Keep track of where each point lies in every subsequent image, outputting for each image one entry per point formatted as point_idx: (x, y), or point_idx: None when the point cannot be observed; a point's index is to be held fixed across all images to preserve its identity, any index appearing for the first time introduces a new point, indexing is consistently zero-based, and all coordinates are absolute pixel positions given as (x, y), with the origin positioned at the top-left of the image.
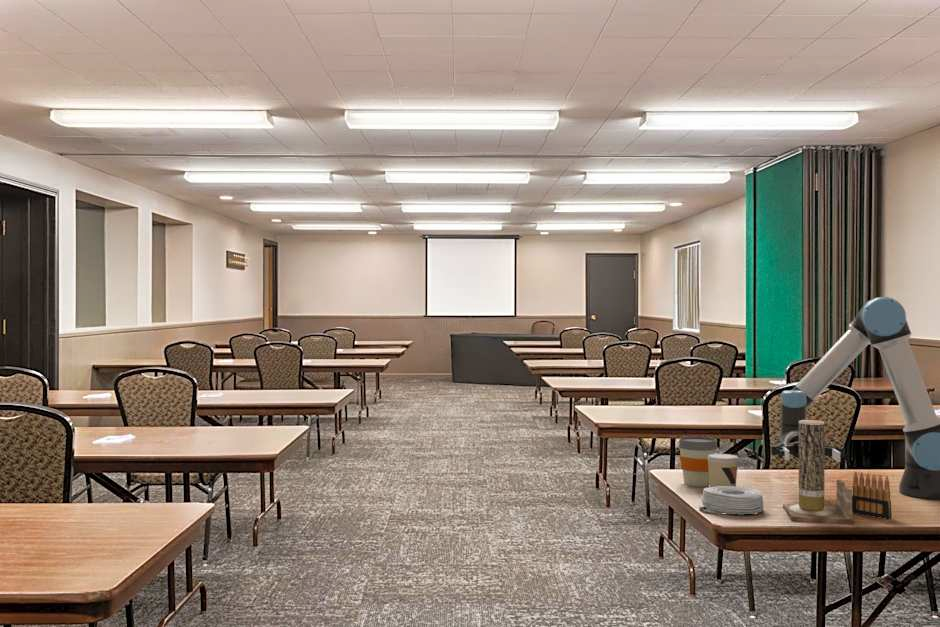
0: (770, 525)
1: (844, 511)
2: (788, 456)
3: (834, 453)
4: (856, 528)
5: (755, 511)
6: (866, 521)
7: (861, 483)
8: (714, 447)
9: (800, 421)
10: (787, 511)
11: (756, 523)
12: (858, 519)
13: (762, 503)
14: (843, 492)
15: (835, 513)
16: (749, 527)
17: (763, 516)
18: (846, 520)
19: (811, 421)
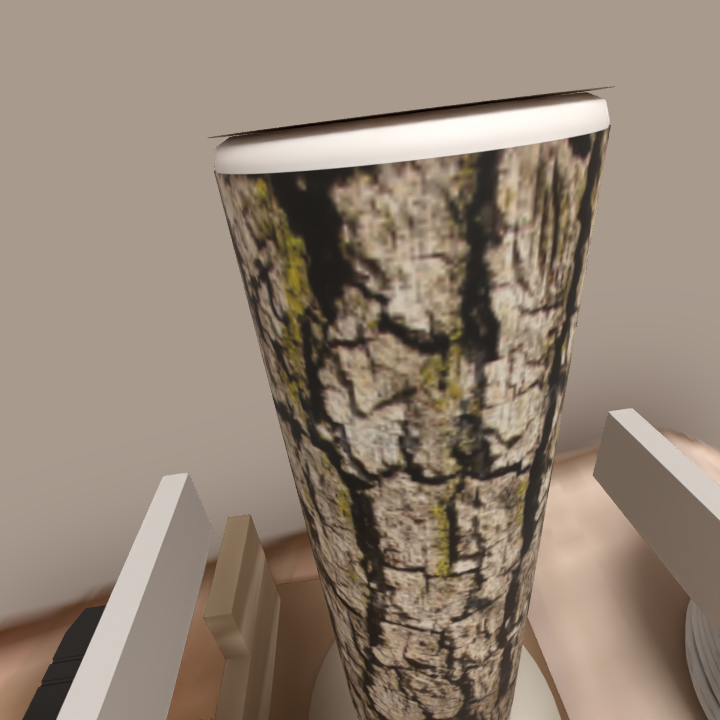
0: (550, 485)
1: (270, 654)
2: (606, 450)
3: (157, 614)
4: (276, 539)
5: (688, 606)
6: (185, 677)
7: None
8: None
9: (546, 96)
10: (556, 692)
11: (603, 492)
12: (204, 713)
13: (715, 686)
14: (243, 629)
15: (308, 698)
16: (597, 446)
17: (639, 610)
18: (289, 586)
19: (399, 114)
